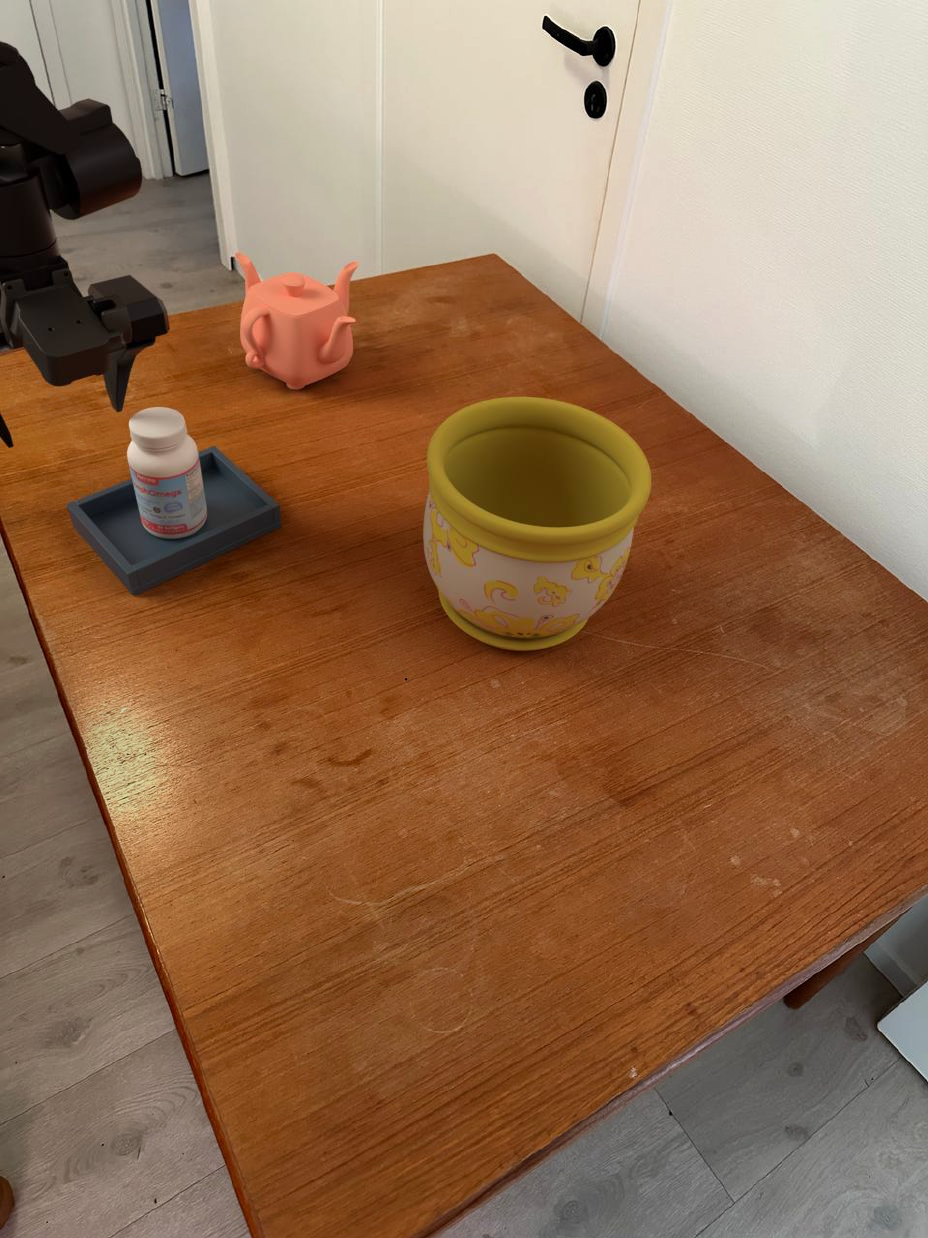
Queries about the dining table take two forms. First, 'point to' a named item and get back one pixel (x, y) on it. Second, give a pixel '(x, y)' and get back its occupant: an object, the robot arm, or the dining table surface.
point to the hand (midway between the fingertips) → (65, 426)
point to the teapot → (296, 325)
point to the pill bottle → (166, 474)
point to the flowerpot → (530, 517)
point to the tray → (153, 560)
